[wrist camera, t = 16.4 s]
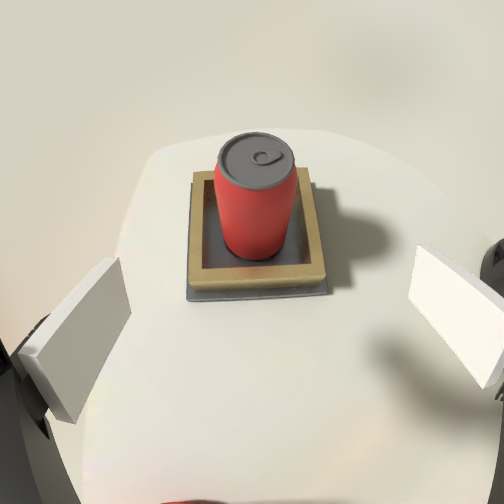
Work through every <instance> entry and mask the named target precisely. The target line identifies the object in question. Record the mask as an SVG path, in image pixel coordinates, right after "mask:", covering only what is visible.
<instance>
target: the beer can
mask: <svg viewBox="0 0 504 504" xmlns="http://www.w3.org/2000/svg"><path fill="white" fill-rule="evenodd" d="M294 161H295V159H294V156H293V152H292V150H291V149H290V147H289V146H288V145H287V143H285V142H284V141H282V140H281V139H280V138H278V137H276V136H273V135H270V134H267V133H260V132H252V133H244V134H241V135H238V136H235V137H234V138H232V139H230V140H229V141H227V142H226V143H225V144H224V146H223V147H222V148H221V149H220V152H219V155H218V162H217V165H216V167H215V171H214V187H215V193H216V198H217V204H218V210H219V215H220V221H221V226H222V232H223V237H224V240H225V242H226V244H227V246H228V248H229V249H230V250H231V251H232V252H233V253H234V254H236V255H238V256H240V257H242V258H245V259H250V260H259V259H265V258H267V257H269V256H272V255H274V254H275V253H276V252H277V251H278V250H279V249H280V248H281V247H282V245H283V243H284V241H285V238H286V234H287V229H288V225H289V220H290V216H291V211H292V207H293V202H294V198H295V193H296V188H297V181H298V175H297V170H296V166H295V163H294Z"/></svg>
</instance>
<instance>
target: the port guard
mask: <svg viewBox="0 0 504 504" xmlns="http://www.w3.org/2000/svg"><path fill="white" fill-rule="evenodd" d="M296 170H297V175H298V181H297V188H296V193H295V198H294V202H293V207H292V211H291V216H290V220H289V225H288V229H287V234H286V238H285V241H284V243H283V245H282V247H281V248H280V249H279V250H278V251H277V252H276V253H275V254H274V255H272V256H269V257H267V258H265V259H259V260H250V259H245V258H242V257H240V256H238V255H236V254H234V253H233V252H232V251H231V250H230V249H229V248H228V246H227V244H226V242H225V240H224V237H223V232H222V226H221V221H220V215H219V210H218V204H217V198H216V193H215V187H214V171H202V172H194V174H193V183H191V194H190V210H189V229H188V253H187V290H186V300H187V301H188V302H191V301H222V300H246V299H265V298H283V297H298V296H313V295H326V294H327V293H328V290H327V283H326V273H325V266H324V259H323V252H322V246H321V240H320V233H319V227H318V221H317V216H316V210H315V204H314V199H313V194H312V188H311V183H310V178H309V173H308V168H296Z"/></svg>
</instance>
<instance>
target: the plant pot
mask: <svg viewBox="0 0 504 504" xmlns="http://www.w3.org/2000/svg"><path fill="white" fill-rule="evenodd" d="M162 504H195V503H187V502H168V503H162Z"/></svg>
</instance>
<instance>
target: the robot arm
mask: <svg viewBox="0 0 504 504" xmlns="http://www.w3.org/2000/svg"><path fill="white" fill-rule="evenodd" d="M408 299H409V300H410V301H411V302H412V303H413V304H414V305H415V306H416V308H417V309H418V310H419V311H420V312H421V313H422V314H423V316H424V317H425V318H426V319H427V320H428V321H429V322H430V324H431V325H432V326H433V327H434V328H435V330H436V331H437V332H438V333H439V334H440V336H441V337H442V338H443V339H444V340H445V342H446V343H447V344H448V345H449V346H450V348H451V349H452V350H453V351H454V353H455V354H456V355H457V356H458V358H459V359H460V360H461V361H462V363H463V364H464V365H465V367H466V368H467V369H468V370H469V372H470V373H471V374H472V376H473V377H474V378H475V380H476V381H477V382H478V384H479V385H480V386H481V388H482V389H485V388H487V387H490V386H492V385H494V384H496V383H497V381H498V379H499V378H500V376H501V374H502V372H503V370H504V239H501V240H500V241H498V242H497V243H496V244H494V245H493V246H492V247H490V248H489V250H488V251H487V252H486V254H485V256H484V258H483V261H482V266H481V273H480V279H479V278H477V277H476V276H475V275H473V274H472V273H471V272H469V271H468V270H467V269H465V268H464V267H463V266H461V265H460V264H459V263H457V262H456V261H454V260H453V259H452V258H450V257H449V256H447V255H446V254H445V253H443V252H442V251H440V250H439V249H437V248H436V247H434V246H433V245H431V244H418V245H417V251H416V258H415V263H414V269H413V274H412V280H411V285H410V289H409V294H408ZM130 314H131V309H130V305H129V301H128V297H127V293H126V288H125V284H124V280H123V275H122V270H121V266H120V261H119V257H114V258H103V259H102V260H101V261H100V262H99V263H98V264H97V265H96V266H95V267H94V268H93V269H92V270H91V271H90V272H89V273H88V274H87V275H86V276H85V277H84V278H83V279H82V280H81V281H80V282H79V283H78V284H77V285H76V287H75V288H74V289H73V290H72V291H71V292H70V293H69V294H68V295H67V296H66V297H65V298H64V299H63V301H62V302H61V303H60V304H59V305H58V306H57V307H56V308H55V309H54V310H53V312H52V313H50V314H49V315H47V316H46V317H44V318H43V319H41V320H40V322H39V323H38V324H37V325H36V326H35V327H34V330H32V331H31V332H30V333H29V334H28V337H26V338H25V339H24V340H23V341H22V342H21V344H20V345H19V346H18V347H17V349H16V350H15V351H14V352H13V353H12V355H11V356H10V357H9V355H8V353H7V351H6V349H5V347H4V345H3V343H2V341H1V339H0V504H81V502H80V500H79V498H78V496H77V494H76V492H75V490H74V488H73V485H72V483H71V481H70V479H69V476H68V474H67V471H66V469H65V467H64V464H63V461H62V459H61V457H60V453H59V451H58V448H57V445H56V442H55V439H54V436H53V433H52V430H51V427H50V424H49V421H48V420H47V418H46V416H45V413H46V412H47V410H48V408H49V409H50V410H51V412H52V413H53V415H54V416H55V418H56V419H57V420H60V421H64V422H68V423H72V424H76V422H77V420H78V417H79V415H80V413H81V411H82V408H83V407H84V404H85V402H86V400H87V398H88V396H89V394H90V392H91V390H92V388H93V385H94V383H95V381H96V379H97V377H98V375H99V373H100V371H101V369H102V367H103V365H104V363H105V361H106V359H107V357H108V355H109V354H110V352H111V350H112V348H113V346H114V344H115V342H116V340H117V338H118V336H119V335H120V333H121V331H122V329H123V327H124V325H125V324H126V322H127V320H128V318H129V316H130ZM502 393H503V397H502V398H501V400H500V401H503V413H502V426H501V435H500V444H499V451H498V457H497V463H496V469H495V474H494V479H493V484H492V488H491V492H490V496H489V500H488V504H504V382H503V384H502V386H501V388H500V389H499V391H498V393H497V394H496V397H495V400H497V399H498V397H499V396H500V394H502Z"/></svg>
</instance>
